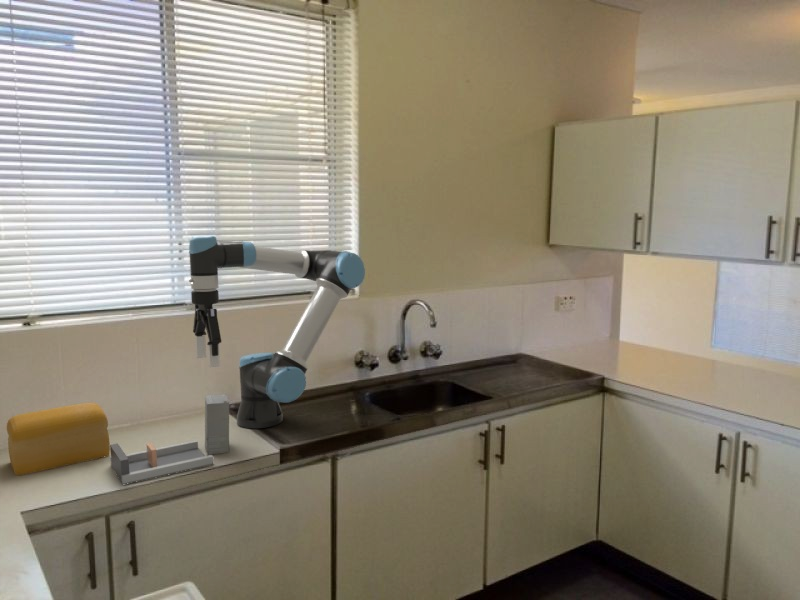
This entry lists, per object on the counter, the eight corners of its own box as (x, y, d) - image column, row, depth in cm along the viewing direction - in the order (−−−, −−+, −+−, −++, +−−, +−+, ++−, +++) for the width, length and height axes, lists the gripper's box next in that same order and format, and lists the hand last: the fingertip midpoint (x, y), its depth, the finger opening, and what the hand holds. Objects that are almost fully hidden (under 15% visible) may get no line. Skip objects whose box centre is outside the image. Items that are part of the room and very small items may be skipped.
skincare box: (204, 446, 202) (201, 395, 199) (228, 443, 204) (226, 392, 202) (207, 455, 194) (204, 403, 192) (232, 452, 196) (229, 400, 194)
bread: (100, 443, 205) (97, 396, 203) (111, 456, 195) (107, 406, 193) (9, 462, 191) (4, 411, 189) (15, 477, 181) (10, 423, 178)
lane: (196, 447, 200) (195, 427, 199) (213, 464, 187) (212, 442, 186) (111, 465, 187) (109, 443, 186) (123, 485, 174) (121, 461, 173)
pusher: (152, 460, 188) (150, 443, 188) (157, 466, 183) (156, 449, 183) (147, 460, 188) (146, 443, 187) (152, 467, 183) (151, 450, 182)
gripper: (180, 286, 200) (183, 355, 203) (203, 295, 179) (206, 372, 182) (205, 284, 204) (208, 352, 207) (231, 293, 183) (233, 368, 186)
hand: (207, 362), depth 195 cm, fingers open, 13 cm apart
